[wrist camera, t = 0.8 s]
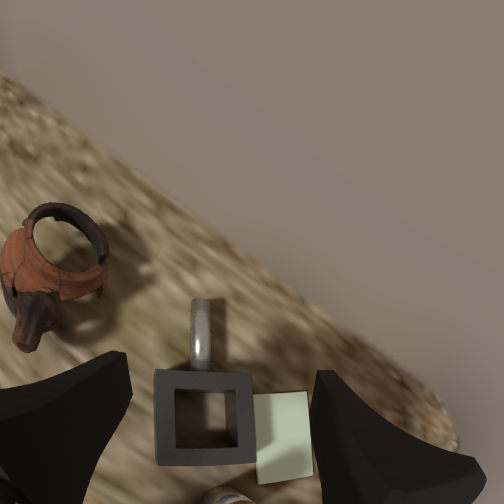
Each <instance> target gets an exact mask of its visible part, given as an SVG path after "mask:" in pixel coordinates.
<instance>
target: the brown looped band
mask: <svg viewBox="0 0 504 504" xmlns="http://www.w3.org/2000/svg"><path fill="white" fill-rule="evenodd" d="M45 217H54V220H55V221H64V222H67V223H70V224H71V225H73V226H74V227H76V228H77V229H79V230H80V231H82V232H83V233H84V234H85V236H86V237H87V238H88V240H89V241H90V242H91V243H92V245H93V246H94V247H95V249H96V251H97V256H98V264H97V265H95V266H94V267H93V268H91V269H89V270H88V271H85V272H70V271H64V270H60V269H59V268H57V267H55V266H54V265H52V264H51V263H50V262H49V261H48V260H46V259H45V257H44V256H43V255H42V254H41V253H40V251H39V250H38V248H37V246H36V244H35V241H34V238H33V229H34V226H35V223H36V222H37V221H38V220H40V219H42V218H45ZM22 226H24V228H19V229H18V230H15V231H14V232H12V233H11V234H10V235H9V237H8V239H7V241H6V242H5V245H4V247H3V251H2V255H1V259H0V278H1V283H2V289H3V293H4V298H5V301H6V304H7V306H8V308H9V310H10V311H11V313H12V314H13V315H14V316H15V317H16V318H17V321H16V325H15V329H14V332H13V334H12V341H13V343H14V344H15V345H16V346H17V347H18V348H19V349H20V350H21V351H23V352H25V353H30V352H32V351H35V350H36V349H37V347H38V345H39V342H40V339H41V336H42V334H43V333H45V332H47V331H50V329H51V325H52V323H54V321H55V318H56V317H57V314H58V311H57V306H56V302H55V300H54V298H53V297H52V296H50V295H48V294H49V293H51V292H59V297H60V300H63V301H64V300H69V299H74V298H78V297H82V296H84V295H86V294H88V293H91V292H93V291H95V290H97V289H98V291H97V297H98V298H99V299H101V298H102V296H103V294H104V291H105V287H106V283H107V265H106V260H105V259H106V258H107V257H108V255H109V247H108V243H107V241H106V238H105V236H104V234H103V232H102V230H101V229H100V228H99V226H98V225H97V224H96V223H94V221H93V220H92V219H91V218H90V217H89V216H88V215H87V214H85V213H83V212H82V211H81V210H79V209H77V208H75V207H73V206H71V205H68V204H65V203H51V202H49V203H45V204H42V205H39V206H38V207H37V208H35V209H34V210H33V211H32V212H31V213H30V214H29V216H28V218H26V219H25V220H23V222H22ZM16 290H17V291H18V297H17V296H16Z"/></svg>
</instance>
